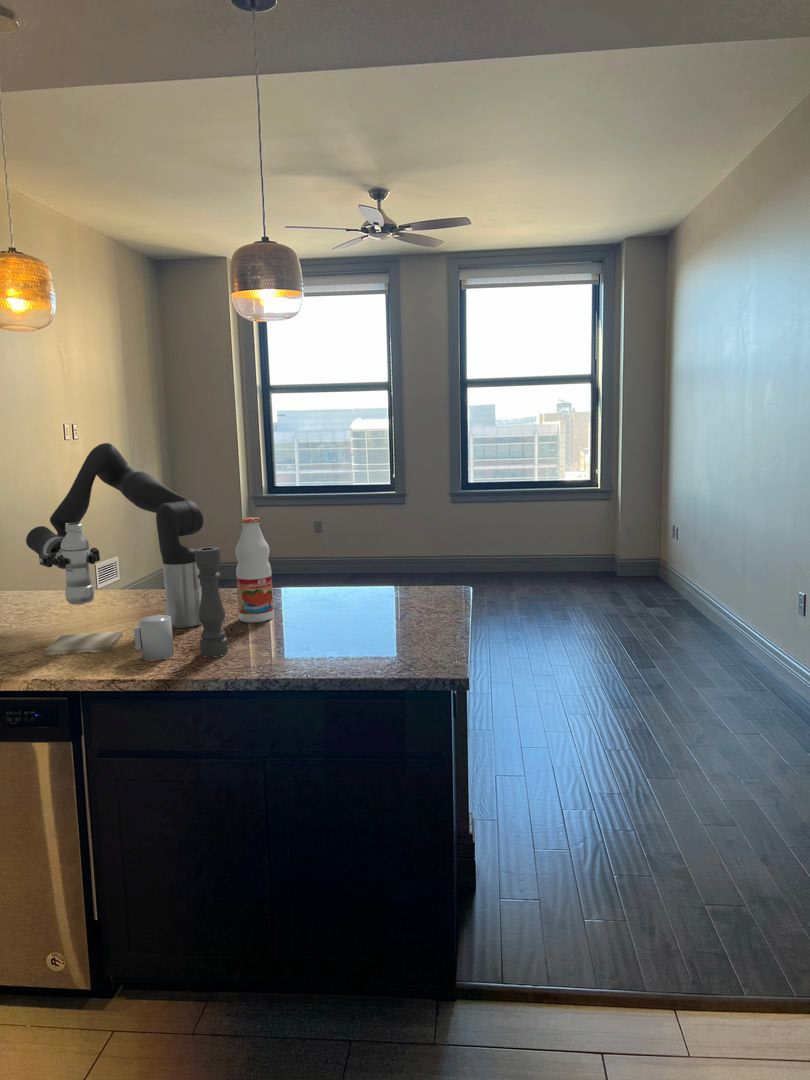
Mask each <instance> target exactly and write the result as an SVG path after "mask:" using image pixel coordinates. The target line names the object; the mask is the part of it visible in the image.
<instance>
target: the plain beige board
mask: <svg viewBox="0 0 810 1080" xmlns="http://www.w3.org/2000/svg"><path fill="white" fill-rule="evenodd" d="M123 636H124V635H123V631H111V632H97V633H95V632H94V633H79V634H78V633H77V634H62V635H60V636H59V637H57V638H56V639H55V640H54V641H53V642H52V643H50V645H49V646H47V647H46V648H45V649H44V650H43V653H44V655H43V656H52V655H51V654H58V655H64V654H63V653H74V654H78V653H77V652H90V653H93V652H92V651H105V652H111V651H112V649H113V648H114V647H115V646H116V645H115V644H117V643H118V642H119V641H120V640H121V639H122V638H123ZM120 638H121V639H120ZM119 639H120V640H119ZM118 640H119V641H118ZM114 645H115V646H114ZM113 646H114V647H113ZM110 650H111V651H110Z"/></svg>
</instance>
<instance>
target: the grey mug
mask: <svg viewBox="0 0 810 1080" xmlns="http://www.w3.org/2000/svg"><path fill="white" fill-rule="evenodd" d="M133 633H134V645H135V646H134V647H135V650H141V654H142V659H143V660H144V659H145V660H144V661H147V660H159V661H162V660H161V659H164V660H166V659H165V658H168V659H170V658H169V657H171V656H172V657H173V655H174V656H175V652H174V650H175V649H174V639H173V638H174V637H173V627H172V623H171V617H170V616H167V614H156V615H155V614H154V615H149V616H144V617H142V618H140V619H139V625H136V626H135V627H133ZM172 657H171V658H172Z"/></svg>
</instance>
